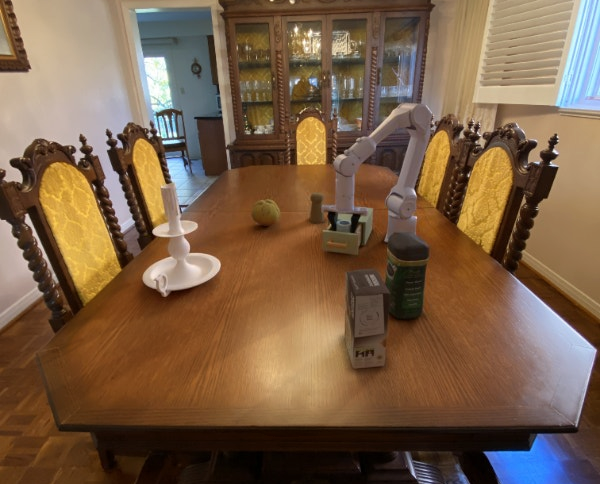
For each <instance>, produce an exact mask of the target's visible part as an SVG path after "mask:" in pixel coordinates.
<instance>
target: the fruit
mask: <svg viewBox="0 0 600 484" xmlns="http://www.w3.org/2000/svg"><path fill="white" fill-rule="evenodd" d="M250 212H251V213H250V214H251V218H252V219H253V221H254V222H255V223H257V225H260V226H265V227H270V226H272V225H274V224H276V223H277V222H278V221H279V220H280V218H281V210H280V207H279V206H278V205H277V203H276V202H275V201H274V200H273V199H267V198H266V199H265V200H264V199H259V200H257V201H256V202H255V203H254V204H253V205H252V209H251V211H250Z"/></svg>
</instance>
